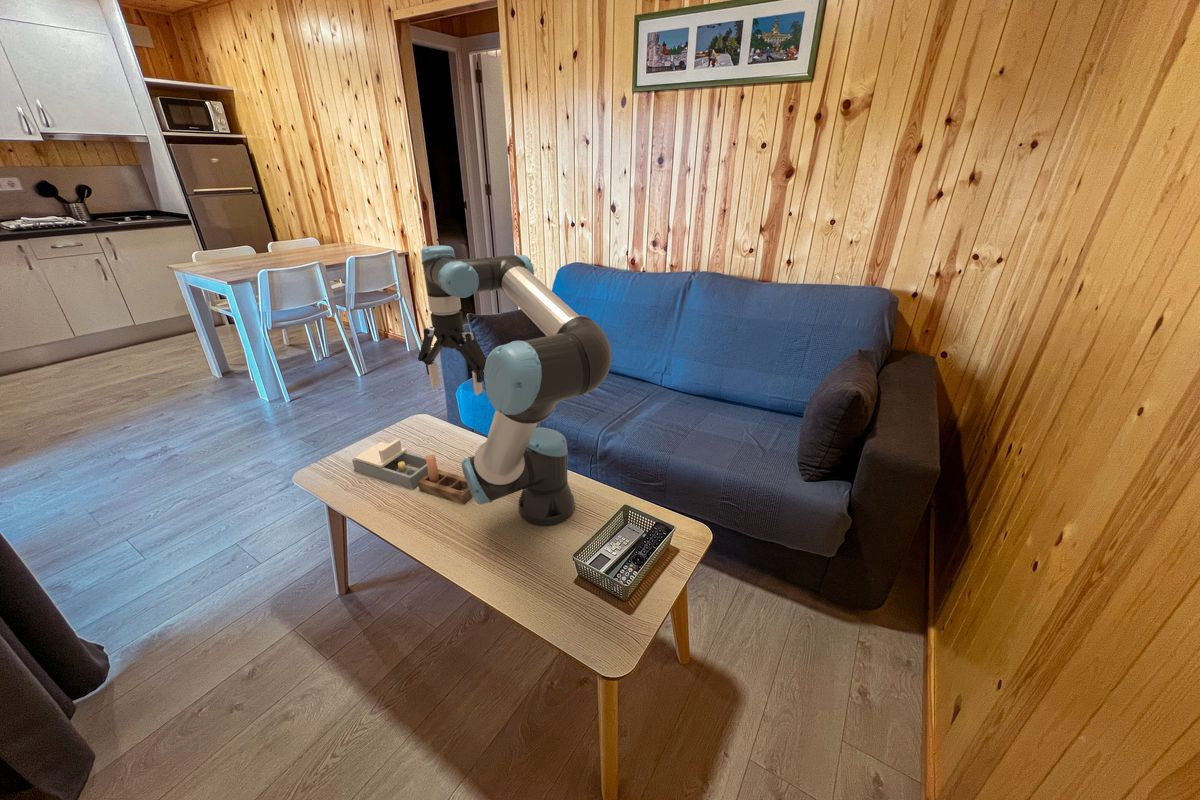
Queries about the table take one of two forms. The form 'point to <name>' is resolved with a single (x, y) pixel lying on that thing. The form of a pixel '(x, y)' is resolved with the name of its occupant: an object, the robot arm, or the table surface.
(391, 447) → the lid
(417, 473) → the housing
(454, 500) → the wooden compartment rack
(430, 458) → the pin
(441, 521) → the table surface
